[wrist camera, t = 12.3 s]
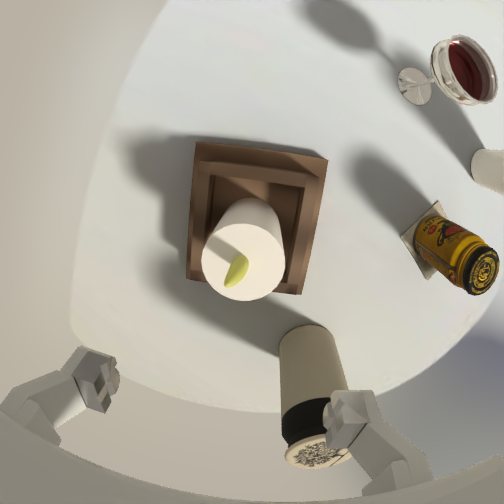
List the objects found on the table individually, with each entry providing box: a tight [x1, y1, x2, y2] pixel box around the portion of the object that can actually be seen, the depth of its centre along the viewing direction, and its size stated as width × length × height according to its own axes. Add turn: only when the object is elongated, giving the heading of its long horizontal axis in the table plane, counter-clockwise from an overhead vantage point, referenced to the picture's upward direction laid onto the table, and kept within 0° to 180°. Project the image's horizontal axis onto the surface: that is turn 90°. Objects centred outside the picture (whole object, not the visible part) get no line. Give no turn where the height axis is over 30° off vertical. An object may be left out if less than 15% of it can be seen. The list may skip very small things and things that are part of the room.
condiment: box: [401, 201, 499, 296], centre depth 26 cm, size 7×8×12 cm
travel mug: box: [279, 325, 352, 469], centre depth 30 cm, size 8×8×18 cm
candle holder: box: [186, 142, 328, 295], centre depth 30 cm, size 16×14×5 cm
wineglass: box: [398, 35, 498, 106], centre depth 19 cm, size 7×7×12 cm
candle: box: [201, 198, 285, 301], centre depth 24 cm, size 6×6×15 cm
